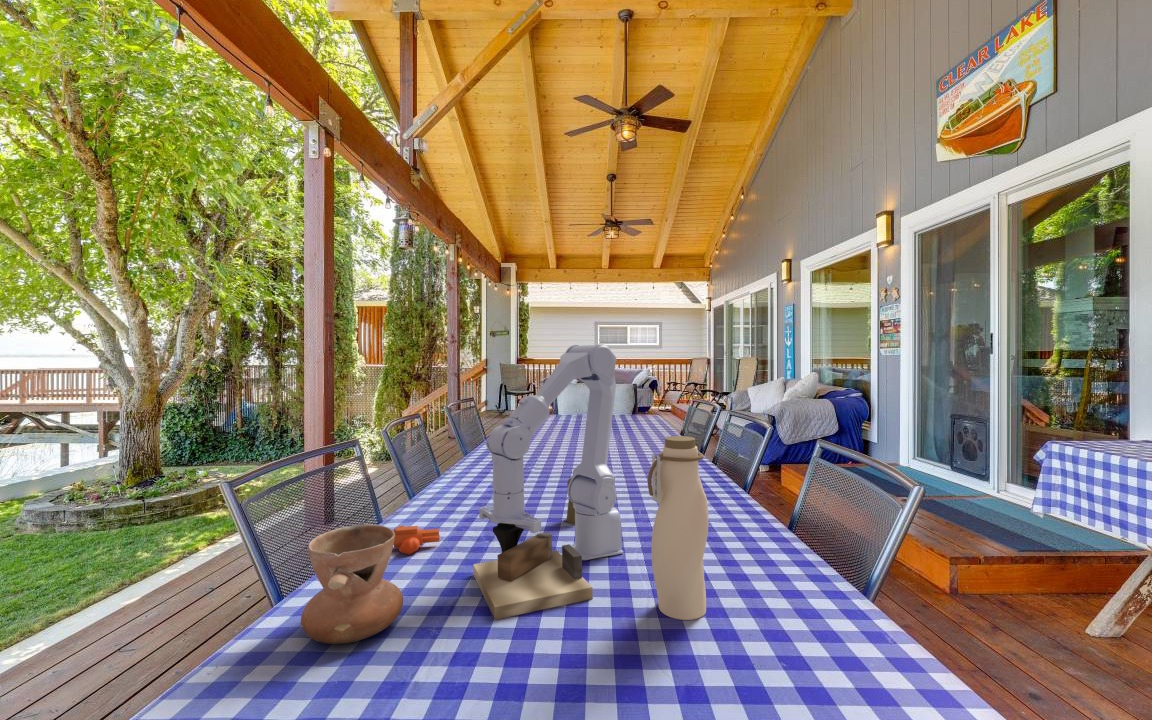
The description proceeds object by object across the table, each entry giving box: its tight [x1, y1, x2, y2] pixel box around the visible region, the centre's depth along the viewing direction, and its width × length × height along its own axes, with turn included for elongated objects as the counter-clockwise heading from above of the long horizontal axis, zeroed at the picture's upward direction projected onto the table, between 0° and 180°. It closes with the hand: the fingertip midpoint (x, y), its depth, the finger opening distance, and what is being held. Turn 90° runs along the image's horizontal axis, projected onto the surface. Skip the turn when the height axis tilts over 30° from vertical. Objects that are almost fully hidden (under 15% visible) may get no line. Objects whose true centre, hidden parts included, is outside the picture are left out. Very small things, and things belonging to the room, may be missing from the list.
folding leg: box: [497, 532, 553, 581], centre depth 95 cm, size 14×3×4 cm, turn 148°
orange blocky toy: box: [393, 525, 441, 556], centre depth 109 cm, size 5×8×12 cm
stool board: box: [472, 544, 594, 621], centre depth 91 cm, size 17×18×6 cm
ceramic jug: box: [300, 523, 404, 645], centre depth 79 cm, size 18×14×14 cm
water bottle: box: [647, 435, 709, 621], centre depth 82 cm, size 10×9×28 cm
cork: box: [565, 476, 575, 525], centre depth 128 cm, size 6×6×11 cm
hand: (509, 562), depth 94 cm, fingers closed
